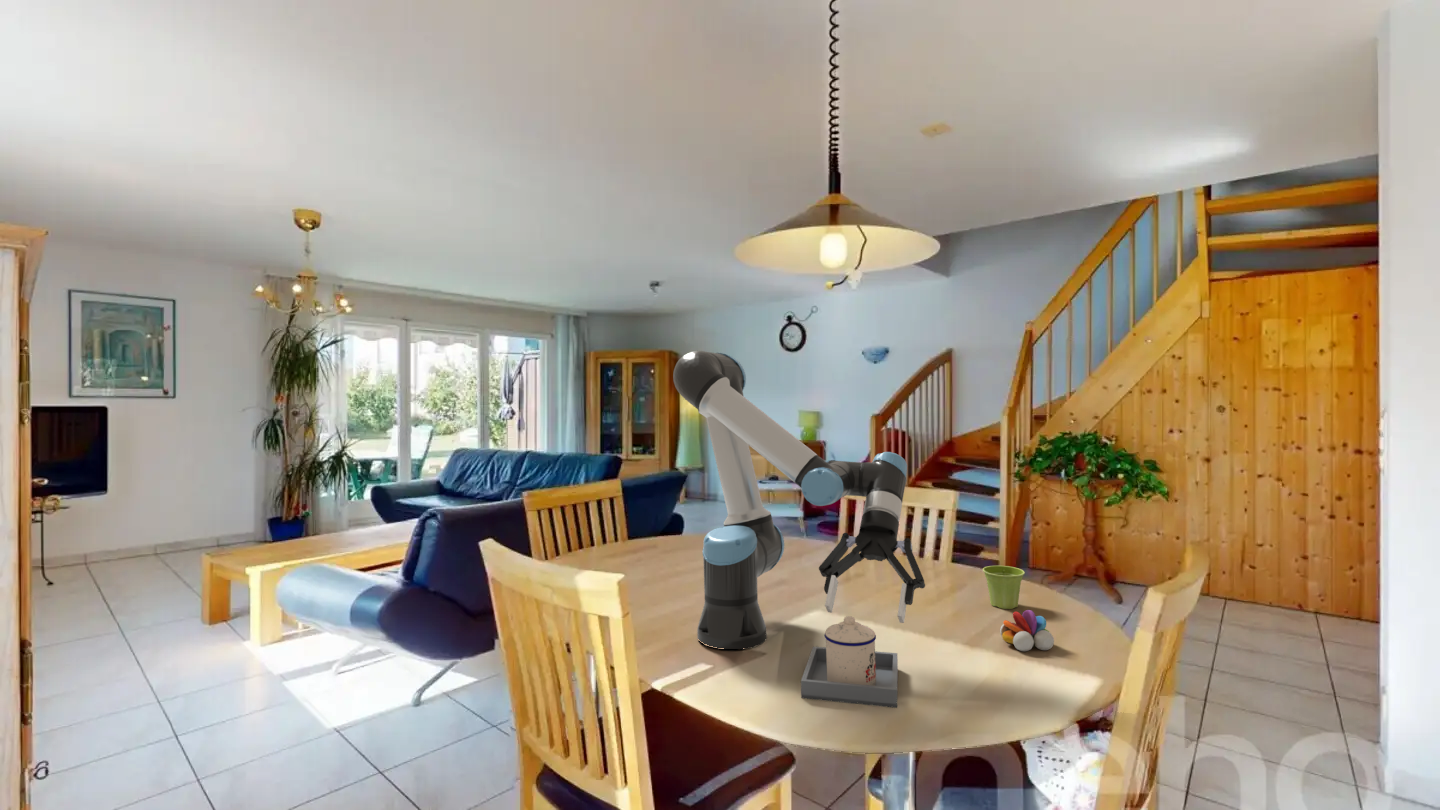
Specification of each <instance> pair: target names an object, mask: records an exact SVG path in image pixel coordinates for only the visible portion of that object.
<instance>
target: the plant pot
mask: <svg viewBox="0 0 1440 810" xmlns="http://www.w3.org/2000/svg"><path fill="white" fill-rule="evenodd" d="M982 572H983V573H984V576H985V578H986V579H985V580H986V582H987V583H986V584H987V589H988V596H989V602H990V605H991V606H992V607H998V609H1002V610H1008V609H1009V610H1013V609H1015V608H1018V606H1019V605H1018V604H1019V598H1020V591H1021V584H1022V580H1023V577H1024V576H1025V574H1026V572H1025V571H1024V570H1023V569H1021V568H1018V567H1014V566H1009V565H989V566H984V567H983V568H982Z"/></svg>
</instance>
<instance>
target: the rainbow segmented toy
mask: <svg viewBox="0 0 1440 810" xmlns="http://www.w3.org/2000/svg"><path fill="white" fill-rule="evenodd" d="M1012 617H1013V621H1014V622H1012V621H1009V620H1006V619H1005V620H1003V623H1002V625H1001V626H1000V629H999V632H1000V635H1001V638H1002V640H1003V641H1004V642H1005V643H1008V644H1012V645H1014V648H1015V649H1016V650H1018V651H1020V652H1028V651H1030V650H1032V648H1033V647H1034V646H1035V647H1036V648H1037V649H1038V650H1040V651H1049V650H1051V648H1052V647H1053V646H1054V644H1055V639H1054V636H1053V635H1052V633H1051V632H1050V631H1049V630H1048V629H1046V627H1047V620H1046V618H1044V616H1042V615H1037V616H1036V614H1035V612H1034V611H1033V610H1032V609H1031V610H1030V609H1027V610H1024V611H1023V612H1022V614H1021V613H1020V611H1019V612H1018V611H1014V612H1013V613H1012Z"/></svg>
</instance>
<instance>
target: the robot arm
mask: <svg viewBox="0 0 1440 810" xmlns="http://www.w3.org/2000/svg"><path fill="white" fill-rule="evenodd" d="M744 369H745V368H743V364H741V363H740V362H739V361H738V359H736V358H734V357H733V356H730V355H728V354H725V353H723V352H710V351H705V350H694V351H690V352H688V353H685V354H684V355H682V357H680V358H679V359H678V361H677V362H676V364H675V366H674V369H673V375H672V376H673V384H674V387H675V389H676V391H677V392H678V393H679V395H680V396H682V398H683V399H684V400H686V401H687V402H688V403H689V404H690V405H691V406H692V407H695V409H697V411H698V414H700V415H702V416H703V417H704V418H705V419H706V423H707V427H708V432H709V433H708V434H709V436H710V440H711V444H712V445H711V446H712V450H713V454H714V458H715V464H716V468H717V471H718V477H719V480H720V485H721V490H722V494H723V499H724V503H725V507H726V511H727V516H726V518H725V520H724V521H723V527H717V528H714V529H712V530H710V531H709V532H707V533H706V535H705V536H704V538H703V548H702V557H703V580H704V581H703V583H704V584H703V586H704V587H703V589H704V590H703V591H704V604H703V608H702V611H701V614H700V618H699V621H698V625H697V631H696V632H697V633H696V634H697V640H698V639H699V640H700V641H701V642H703V643H704V644H707V645H709V646H713V647H717V648H724V649H742V650H744V649H743V648H748V649H752V648H755V647H758V646H760V645H762V644H764V642H765V641H767V635H768V634H767V625H766V622H765V619H764V617H763V613H762V610H761V607H760V605H759V601H758V600H759V599H758V578H759V577H760V576H762V575H763V574H765V573H767V572H769V571H771V570H772V569H773V568H774V567H775V566H777V564H778V563H779V562H780V560H781V558H782V557H783V554H784V551H785V540H784V539H785V538H784V535H783V533H782V531H781V529H780V528H779V527H778V526H777V525H776V524H775V523H774V521H773V517H772V513H771V511H770V510H768V509H767V508H765V507H764V505H763V501H762V498H761V493H760V488H759V486H758V480H757V476H756V471H755V466H754V463H753V458H752V455H751V451H750V448H752V449H753V450H754V451H755V452H757V454H759V455H760V456H761V457H762V458H764V459H765V460H766V461H767V462H768V463H770V464H771V465H772V466H774V467H775V468H777V470H778V471H780V472H781V474H783V475H785V476H786V477H787V478H789V479H790V481H792V482H793V483H794V484H795V485H797V486H798V487H799V488H800V489H801V492H802V495H803V497H804V498H805V500H806V501H807V502H809V503H810V504H812V505H814V506H817V507H823V506H824V507H825V506H829V505H830V506H831V505H832V504H834V503H836V502H838V501H839V500H840V499H841V498H844V497H845V496H851V497H854V496H855V497H862V498H864V497H865V501H864V505H863V509H862V510H863V511H862V516H861V521H860V525H859V531H858V534H857V536H852V535H851V536H850V535H849V533H848V532H844V533H842V535H841V537H840V541H839V542H838V543H837V544H836V546H835V547H834V548H833V550H832V551H831V552H830V553H829V554H828V556H826V558H825V560H823V561H822V563H820V565H819V567H818V570H819V572H820V574H821V576H822V577H823V578H825V581H824V586H823V590H824V592H825V595H826V599H825V603H824V607H825V608H826V611H827V612H828V613H833V610H834V605H835V604H834V603H835V599H836V596H837V590H838V586H839V581H838V578H839V577H840V576H841V575H843V574H844V573H845V572H847V571H848V570H849V569H851V567H853V566H854V565H856V564H857V563H859V562H862V561H863V560H864V559H866V560H867V561H874V560H875V561H878V562H883V561H887V562H888V563H889V565H890V566H892V568H893V569H894V571H895V572H896V574H897V575H898V576H899V577H900V579H901V580H902V582H901V588H900V596H899V603H898V610H897V618H898V622H899V623H901V624H904V623H905V620H906V619H905V617H906V612H907V606H912V604H913V602H914V593H915V590H916V589H924V588H925V587H926V583H925V579H924V577H923V574H922V572H921V569H920V567H919V564H918V562H917V560H916V558H915V554H914V553H913V545H912V540H911V539H910V538H909V537H906V538H905V539H904V540H898V533H899V526H900V519H901V514H902V509H903V501H904V500H903V499H904V495H905V489H906V484H907V482H908V481H907V472H908V464H907V461H906V460H905V458H903V457H902V456H901V455H900V454H897V453H895V452H891V451H884V452H882V453H877V454H876V455H875V456H874V458H873V460H872V461H869V462H859V461H845V460H836V459H828V460H827V459H826V460H825V459H823V458H822V457H821V456H819V455H818V454H817V453H816V452H815V451H813V450H812V449H811V448H810V447H809V446H807V445H805V444H804V443H803V442H802V441H801V440H799V439H798V438H797V437H795V436H794V435H793V434H792V433H790V431H788V430H786V428H784V427H783V426H782V425H781V424H779V423H778V422H776V421H775V420H774V419H773V418H772V417H770V416H769V415H768V414H766V413H765V412H764V411H762V410H761V409H760V408H759V407H758V406H756V405H755V404H754V403H753V402H751V401H750V400H749V399H747V398H746V397H745V396H744V392H743V391H744V389H745V387H746V385H747V383H746V382H747V378H746V377H747V376H746V372H745V370H744ZM854 544H855V545H856V546H854V547H853V548H852V546H853V545H854ZM849 548H851V549H852V550H851V551H850V552H849V553H847V552H848V550H849ZM898 549H900V551H901V552H902V553H903V554H905V556H906V559H907V561H908V564H909V566H910V568H911V571H912V574H913V576H914V578H913V577H911V575H910V574H909V573H908V571H907V570H906V569H905V567H904V566H903V565H902V563H901V561H900V560H899V559H898V558H897V556H895V554H894V552H895V551H897V550H898ZM846 553H847V554H846ZM844 555H845V556H844ZM843 556H844V557H843ZM751 647H752V648H751Z"/></svg>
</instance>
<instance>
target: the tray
mask: <svg viewBox="0 0 1440 810" xmlns="http://www.w3.org/2000/svg"><path fill="white" fill-rule="evenodd" d="M898 663H899V662H898V652H889V651H876V650H875V664H876V684H875V686H872V685H861V684H851V683H840V682H829V681H827V658H826V646H812V649H811V651H810V654H809V657H808V660H807V663H806V664H805V668H804V671H803V675H802V676H801V679H800V695H801V697H800V698H801V699H805V698H807V700H816V701H827V702H835V703H836V702H837V703H846V704H854V705H864V706H875V707H885V708H894V709H895V708H896V709H898V682H899V681H898V680H899V679H898V676H899V675H898V673H899V671H898V670H899V668H898V667H899V666H898Z"/></svg>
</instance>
